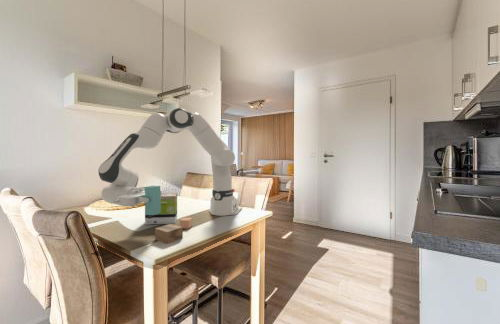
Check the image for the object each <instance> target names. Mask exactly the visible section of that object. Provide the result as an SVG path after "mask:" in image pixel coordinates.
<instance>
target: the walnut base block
mask: <svg viewBox="0 0 500 324" xmlns="http://www.w3.org/2000/svg"><path fill="white" fill-rule="evenodd" d="M183 229H184V228H183V227H181V226H180V225H177V224H164V225H162V226H159V227H155V228H154V234H155V235H154V239H155V240H156V241H158V242H161V243H164V244H166V245H168V244H170V243H173V242H176V241H178V240H181V239H183V238H184V237H183V235H184V234H183V233H184V232H183V231H184V230H183Z"/></svg>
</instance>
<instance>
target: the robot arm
mask: <svg viewBox="0 0 500 324" xmlns="http://www.w3.org/2000/svg"><path fill="white" fill-rule="evenodd" d="M185 129H186V130H188V131H189V132H190V133H191V134H192V136H193V137H194V139H196V141H197V142H198V144H199V145H200V146H201V147H202V149H204V151H206V153H207V154H209V156H210V161H211V162H210V163H211V171H212V188H213V189H212V191H211V192H212V197H211V198H210V206H209V209H208V213H210V214H211V215H214V216H218V217H219V216H220V217H222V216H231V215H232V216H235V215H237V214H239V212H241V210H242V208H243V207H241V206H239V201H238V199H237V198H236V197H235V196H234V193H235V191H236V190H235V188H232V187H233V185H232V183H233V182H232V180H233V179H232V176H233V175H232V173H231V166H232V165H233V164H234V162H235V159H236V156H235V153H234V151H233V150H231V148H229V147H228V145H227V144H226V143H225V142H224V141H223V140H222V139H221V138H220V136H219V135H218V134H217V132H215V130H214V129H213V128H212V126H211V125H210V124H209V123H208V121H207V120H206V119H205V118H204V117H203V116H202V115H201V114H200V113H197V112H193V113H192V112H189V111H188V110H186V109H184V108H181V107H177V108H175V109H172V111H170V113H168V114H167V115H164V114H162V113H158V112H153V113H152V114H150V116H149V117H148V118H147V119H145V121H144V123H143V124H142V126H141V127H140V129H139V130H138V131H137V132H135V133H134V132H133V133H130V134H129V135H128V136H127V137H126V138H125V139H124V140H123V141H122V142H121V144H119V146H118V147H117V148H116V149H115V150H114V151H113V153H112V154H111V155H110V156H109V157H108V158H107V159H106V160H105V161H103V162H102V163H101V164H100V166H99V167H98V176H99V179H100V180H101V181H103V182H106V183H109V185H107V186H105V187H104V188H102V190H101V193H100V194H101V197H102V199H103V201H105V202H106V203H108V204H111V205H112V204H113V205H118V206H121V207H135V206H138V205H139V204H143V203H145V202H150V201H151V199H150V198H145V187H146V186H141V187H139V186H138V183H139V174H138V173H137V172H136V171H135V170H133V169H132V168H129V167H127V166H126V165H123V161H124V160H125V159H126V158H127V157H128V156H129V154H130V153H131V152H132V151H133V150H134V149H137V148H138V149H139V148H140V149H147V150H149V149H153V148H156V147H157V146H158V145H159V143H160V142H161V140H162V139H163V136H164V135H165V133H166V132H168V133H171V134H178V133H180V132H182V131H184V130H185ZM137 186H138V187H137ZM161 193H162V190H160V195H161Z"/></svg>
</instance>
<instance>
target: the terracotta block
mask: <svg viewBox="0 0 500 324" xmlns="http://www.w3.org/2000/svg"><path fill="white" fill-rule="evenodd" d="M179 226H181V227H183V229H190V228H191V227H192V226H193V217H182V218H181V219H180V220H179Z"/></svg>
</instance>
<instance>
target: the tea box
mask: <svg viewBox="0 0 500 324" xmlns="http://www.w3.org/2000/svg"><path fill="white" fill-rule="evenodd" d="M177 219H178V192H161V213H159V214H156V215H147V214H145V213H144V225H145V226H147V225H168V224H173V225H176V222H177Z"/></svg>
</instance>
